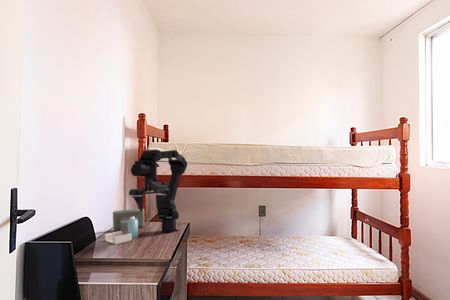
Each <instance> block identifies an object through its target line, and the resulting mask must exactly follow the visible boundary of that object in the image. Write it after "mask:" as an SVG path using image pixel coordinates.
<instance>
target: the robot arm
mask: <svg viewBox="0 0 450 300" xmlns="http://www.w3.org/2000/svg"><path fill="white" fill-rule="evenodd" d="M162 159H168V164H169V166H170V167H169V169H170V173H171V174H170V178H169V181H168V182H166V181H162V182H160V181H159V178H158V177H157V176H158V175H157V173H158V172H157V170H158V168H159V167H160V165H159V164H158V162H159V161H161V160H162ZM187 168H188V161H187V159H186V158H185V157H184V156H183V155H181V154H180V153H179V152H178V150H176V149H171V150H165V151H164V150H163V151H162V150H159V149H145V150H143V151H142V153H141V155H140V157H139V159H138V160H135V161H134V164H132V166H131V168H130V173H131V175H132V176H133V177H143V178H142V180H141V181H142V182H143V187H142V188H130V189H129V190H128V191H129V192H128V196H131V198H133V199H134V201H135V203H136V205H137V208H138V209H139V210H140V212H142V210H143V209H144V206H143V205H144V201H143V200H144V198H145V195H147V194H148V195H150V194H155V203H156V205H155V206H156V211H157V215H158V219H159V220H161V222H162V223H161V230H160V232H161V233H162V232H163V233H167V234H170V233H174V232H177V231H179V229H178V228H177V222H176V221H177V220H178V219H179V217H180V216H179V215H180V213H179V212H178V210H177V204H176V202H175V199H176V195H177V193H178V192H177V191H178V187H179V184H180V182H181V181H180V180H181V176H182V175H183V174H184V173H185V172H186V170H187Z"/></svg>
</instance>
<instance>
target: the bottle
mask: <svg viewBox="0 0 450 300" xmlns="http://www.w3.org/2000/svg"><path fill="white" fill-rule="evenodd" d="M129 233H131V234H132V239H137V238H139V227H138V220H137V219H135V217H130V220H128V231H127V234H129Z"/></svg>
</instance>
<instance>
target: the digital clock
mask: <svg viewBox="0 0 450 300" xmlns="http://www.w3.org/2000/svg"><path fill="white" fill-rule="evenodd" d="M130 217H135V219H137V220H138V228H143V227H145V209H144V208H143V210H142V212H140V210H139V208H132V209H123V210H114V211H113V212H112V222H113V223H112V225H113V226H112V227H113V231H122V233H123V232H128V220H130Z"/></svg>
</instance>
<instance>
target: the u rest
mask: <svg viewBox="0 0 450 300" xmlns="http://www.w3.org/2000/svg"><path fill="white" fill-rule="evenodd" d="M103 235H104V236H103V237H104V242H106V243H109V244H113V245H119V244H123V243H127V242H131V241H132V240H133V238H132V234H131V233H129V234H128V233H125V234H124V233H123V232H122V231H121V230H117V231H113V232H108V233H104V234H103Z"/></svg>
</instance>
